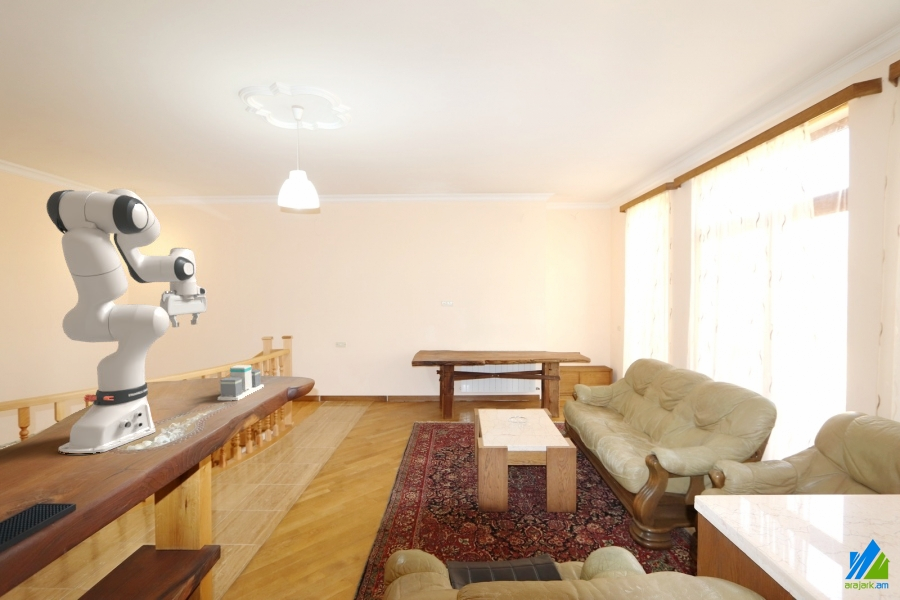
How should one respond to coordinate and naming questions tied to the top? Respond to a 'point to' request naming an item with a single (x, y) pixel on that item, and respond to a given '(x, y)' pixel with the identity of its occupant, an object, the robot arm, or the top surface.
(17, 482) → the top surface
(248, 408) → the top surface
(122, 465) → the top surface
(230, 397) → the rail mount
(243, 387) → the block
